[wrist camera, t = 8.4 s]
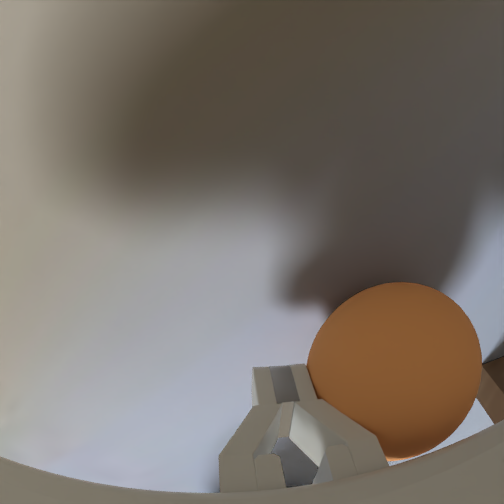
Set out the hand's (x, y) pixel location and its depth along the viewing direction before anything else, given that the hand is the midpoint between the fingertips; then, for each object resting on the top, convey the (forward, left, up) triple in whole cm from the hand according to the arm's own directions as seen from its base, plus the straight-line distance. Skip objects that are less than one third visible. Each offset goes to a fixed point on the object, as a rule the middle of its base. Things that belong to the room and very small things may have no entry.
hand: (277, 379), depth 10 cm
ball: (0, +4, +1) cm, 4 cm away
